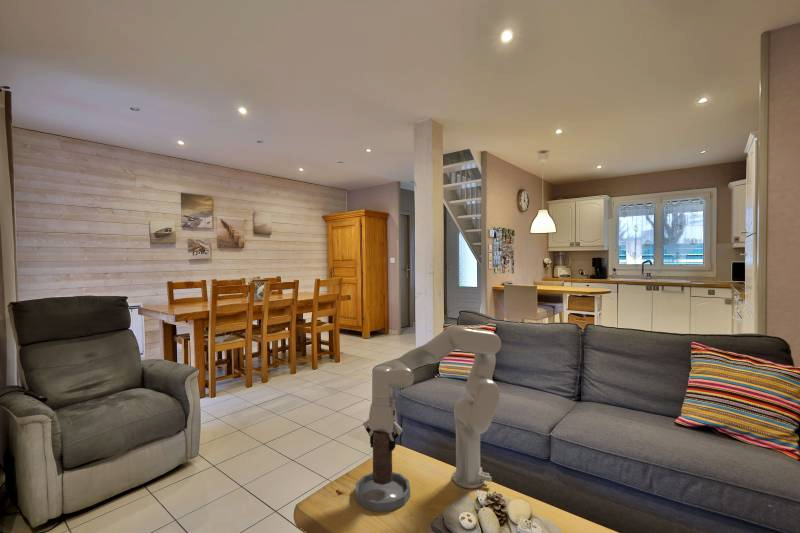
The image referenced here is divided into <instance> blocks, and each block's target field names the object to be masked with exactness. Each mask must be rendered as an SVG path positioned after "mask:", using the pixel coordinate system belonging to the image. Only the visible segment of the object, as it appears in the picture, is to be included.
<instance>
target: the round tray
mask: <svg viewBox="0 0 800 533" xmlns="http://www.w3.org/2000/svg"><path fill="white" fill-rule="evenodd" d="M410 498H411V485H410V481H409V479H408V478H406V477H405V476H404V475H403V474H402V473H399V472H394V471H392V482H390V483H388V484H384V485H381V484H377V483H374V481H373V471H372V472H369V473H367V474H365V475H363V476H362V477H361V478H359V480H357V482H356V483H355V501H356V502H357V503H358V504H359V505H360V506H361V507H362V509H365V510H369V511H372V512H376V513H381V512H393V511H395V510H398V509H399V508H401V507H403V506H405V505H406V504H407V502H408V501H409V499H410Z"/></svg>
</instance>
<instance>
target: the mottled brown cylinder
mask: <svg viewBox="0 0 800 533" xmlns="http://www.w3.org/2000/svg"><path fill="white" fill-rule="evenodd" d="M390 440H391V439H390V437H389V434H388V433H387V432H378V431H373V447H372V472H373V481H374V483H377V484H381V485H384V484H388V483H390V482H392V472H393V451H392V452H390V451H389V441H390Z"/></svg>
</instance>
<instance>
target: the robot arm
mask: <svg viewBox="0 0 800 533" xmlns="http://www.w3.org/2000/svg"><path fill="white" fill-rule="evenodd" d="M501 348H502V341H501V338H500V337H499V336H498V334H496V333H494V332H492V331H489V330H486V329H482V328H473V329H471V328H466V327H463V326H461V325H460V326H459V325H457V324H455V325H450V326H449V327H447V328H446V329H444V330H443V331H442V332H440V333H439V334H437V335H436V336H435V337H434V338H432V339H431V340H429V341H428V342H427V343H425V344H423V345H421V346H418V347H416V348H414V349H411V350H409V351H408V352H406V353H404V354H402V355H401V356H400V357H399V358H397V359H396V360H394V362H392V363H391V365H390V366H387V365H378V366H376V367H373V369H372V402H371V403H370V407H369V414H368V419H367V420H365V421H364V422H363V423H362V425H363V427H364V428H365V431H366V433H368V436H369V444H370V448H373V431H378V432H387V433H388V434H389V437H390V439H391V440H390V441H389V451H390V452H392V453H393V451H394V450H395V449H396V439H397V438H398V437H399V436H400V435H401V434H402V432H404V429H403V428H402V426H400V425H399V423H398V417H397V408H396V405H395V403H396V402H397V401H396V398H394V395H393V392H394V391H393V388H401V389H403V388H404V389H405V388H409V387H410V386H412V385H413V383H414V382H415V374H414V370H415V369H417V368H418V367H420V366H421V367H422V366H425V365H433V364H434V365H435V364H437V363H439V362H441V361H442V360H443V359H445V358H446V357H448V356H449V355H450V354H451V353H453V352H454V351H456V350H458V351H462V352H466V353H471V354H474V360H473V364H472V367H471V370H470V372H469V375H468V377H467V380H466V382H465V390H466V393H468V395H469V396H471V397H472V398H473V399H474V400H473V399H471V398H468V397H463V398H460V399H458V400H457V401H456V403H455V405H454V408H453V418H454V424H455V425H454V426H455V466H456V467H455V470H454V471H453V472H452V475H451V478H452V481H453V483H454V484H456V486H458V487H461V488H464V489H478V488H481V487H482V486H483V485H485V484H484V483H485V481H486V482H489V483H492V478H493V477H492V476H490V475H491V474H490V473H489V472H484V471H483V467H481V435H482V434H483V433H485V432H487V431H488V430H489V428H490V426H491V424H492V422H493V420H494V416H495V413H496V409H497V407H498V404H499V403H500V402H499V401H500V398H501V397H500V396H501V393H500V388H499V385H498V384H497V383H496V382H495V381H493V380H492V379H493V376H494V371H495V367H496V361H497V360H496V359H497V358H496V354H497V353H499V351H500V350H501ZM395 430H396V431H395Z"/></svg>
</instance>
